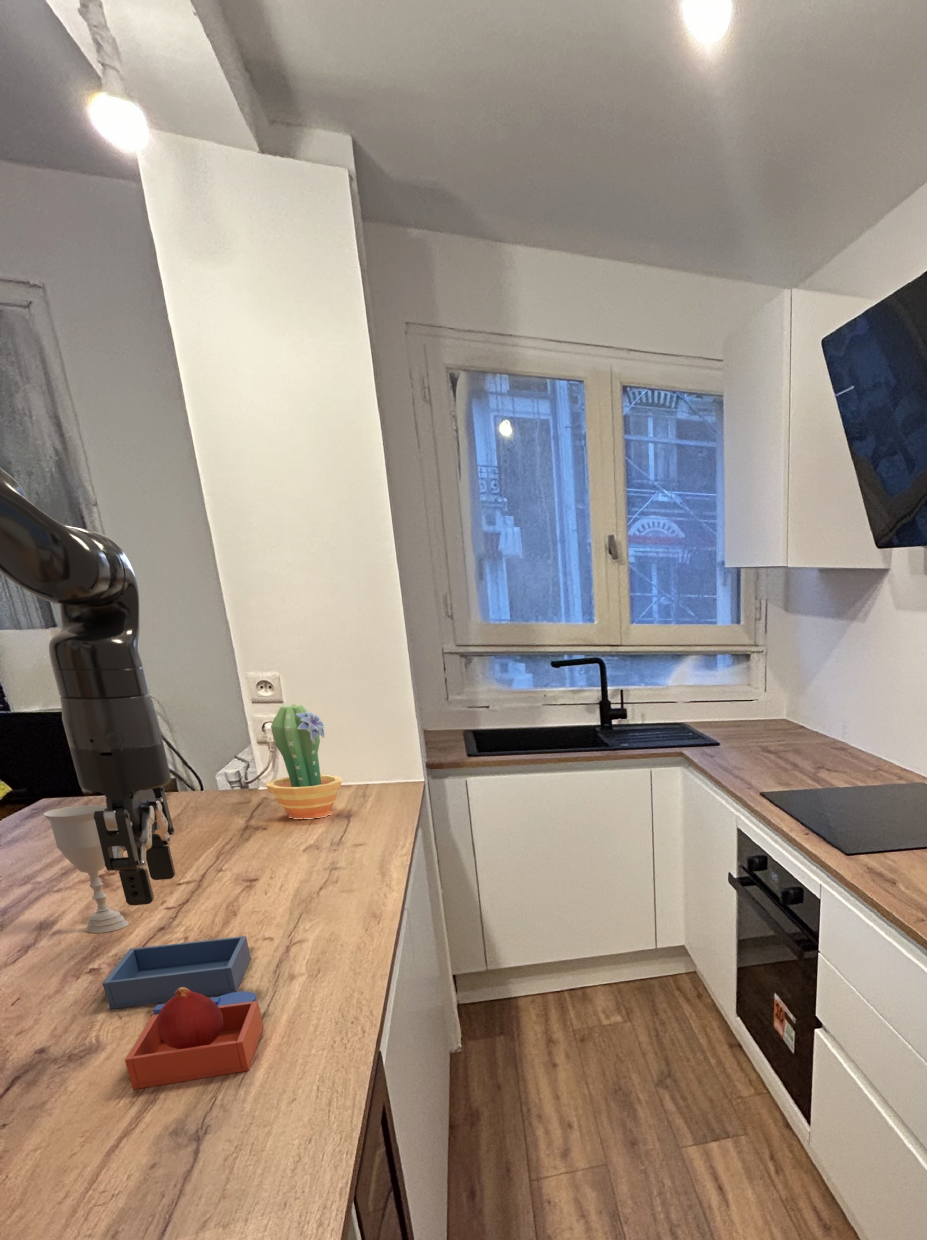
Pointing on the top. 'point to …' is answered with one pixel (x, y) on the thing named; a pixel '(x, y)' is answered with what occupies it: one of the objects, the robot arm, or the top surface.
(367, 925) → the top surface
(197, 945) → the blue bin
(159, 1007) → the blue paddle
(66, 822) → the chalice
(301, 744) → the potted cactus
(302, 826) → the top surface
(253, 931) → the top surface
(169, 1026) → the onion
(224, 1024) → the terracotta bin
